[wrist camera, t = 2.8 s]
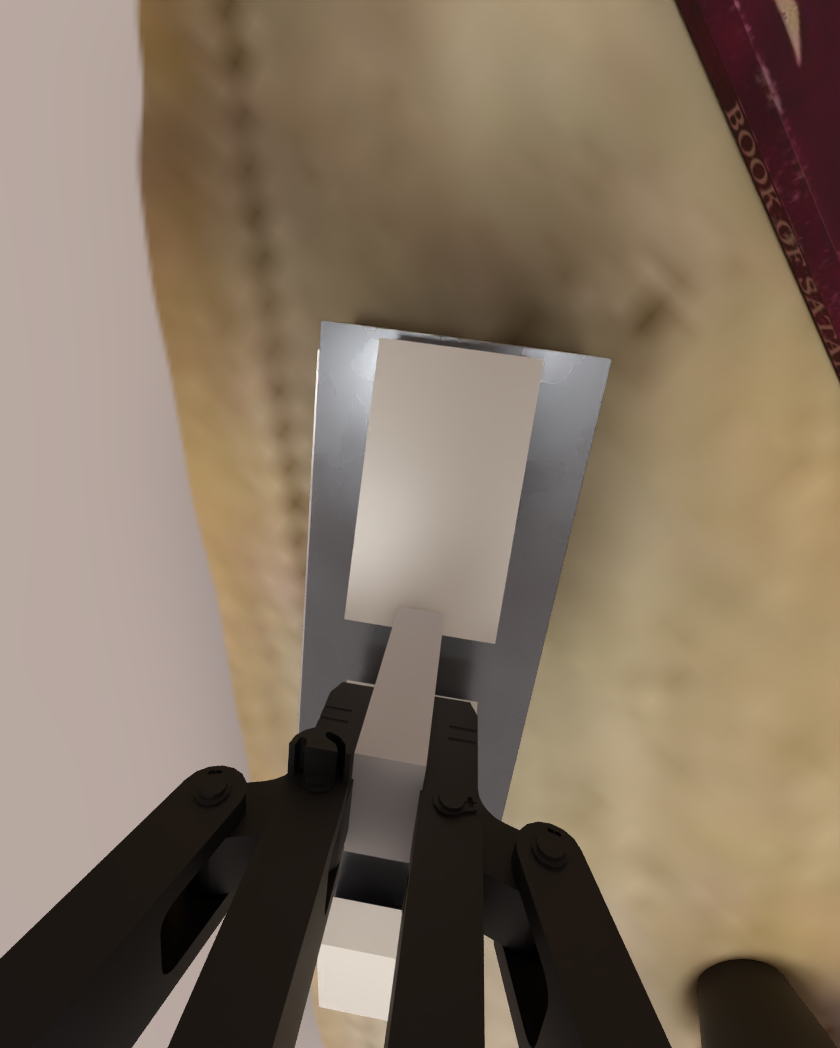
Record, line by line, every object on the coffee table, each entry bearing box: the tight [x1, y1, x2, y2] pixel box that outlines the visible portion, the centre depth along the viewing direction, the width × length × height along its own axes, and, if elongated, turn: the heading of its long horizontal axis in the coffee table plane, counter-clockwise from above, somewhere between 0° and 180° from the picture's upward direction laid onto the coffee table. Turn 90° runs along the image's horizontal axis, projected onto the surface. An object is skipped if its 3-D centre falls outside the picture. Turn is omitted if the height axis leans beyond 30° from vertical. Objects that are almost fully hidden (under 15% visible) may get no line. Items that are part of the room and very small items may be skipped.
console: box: [297, 320, 612, 910], centre depth 26 cm, size 34×10×5 cm, turn 173°
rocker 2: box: [344, 337, 544, 644], centre depth 18 cm, size 9×5×3 cm, turn 173°
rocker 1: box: [317, 897, 402, 1021], centre depth 26 cm, size 9×5×3 cm, turn 173°
